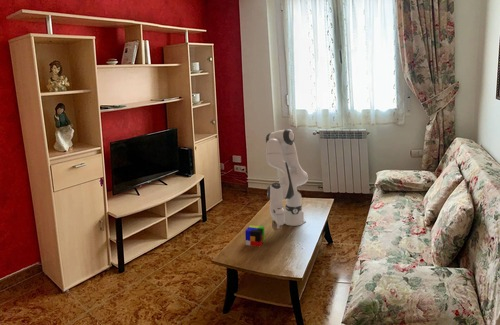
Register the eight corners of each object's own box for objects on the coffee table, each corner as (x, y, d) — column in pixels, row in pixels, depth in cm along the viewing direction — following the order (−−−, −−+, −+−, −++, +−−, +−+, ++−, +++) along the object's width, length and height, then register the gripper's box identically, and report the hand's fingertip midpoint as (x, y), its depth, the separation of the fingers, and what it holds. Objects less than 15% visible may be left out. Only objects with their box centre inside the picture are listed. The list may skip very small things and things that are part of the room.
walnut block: (272, 227, 285) (272, 220, 284) (279, 226, 286) (279, 220, 285) (274, 230, 280) (274, 223, 279) (281, 229, 281) (281, 222, 280)
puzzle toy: (245, 244, 275) (245, 230, 273) (250, 238, 284) (250, 225, 282) (260, 246, 272) (259, 232, 270) (264, 240, 281) (264, 226, 279)
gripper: (267, 202, 288) (267, 221, 292) (276, 213, 269) (276, 232, 273) (276, 201, 290) (276, 220, 293) (285, 212, 270) (285, 231, 274)
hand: (276, 226), depth 283 cm, fingers closed on walnut block, 5 cm apart
